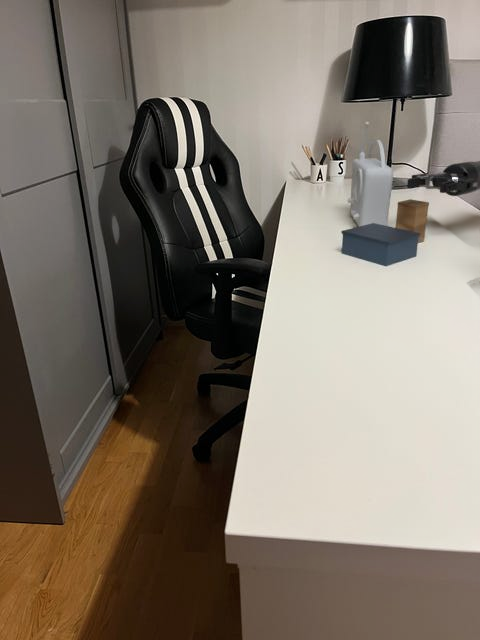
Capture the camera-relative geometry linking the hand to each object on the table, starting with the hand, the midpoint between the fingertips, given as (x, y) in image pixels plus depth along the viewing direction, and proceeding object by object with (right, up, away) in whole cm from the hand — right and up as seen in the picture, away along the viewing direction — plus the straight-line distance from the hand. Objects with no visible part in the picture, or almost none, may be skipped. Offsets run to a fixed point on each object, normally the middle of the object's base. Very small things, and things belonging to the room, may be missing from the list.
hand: (424, 185), depth 114 cm
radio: (-8, -5, +21) cm, 23 cm away
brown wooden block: (-2, -12, +3) cm, 13 cm away
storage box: (-12, -16, -6) cm, 21 cm away
